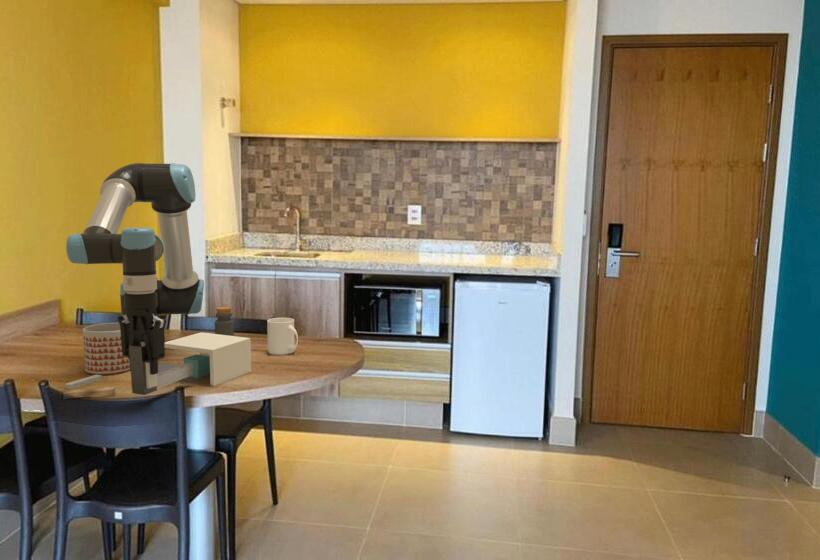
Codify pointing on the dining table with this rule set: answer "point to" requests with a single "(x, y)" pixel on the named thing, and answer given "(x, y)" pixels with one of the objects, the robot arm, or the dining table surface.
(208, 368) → the block
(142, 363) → the dark grey l-shaped block
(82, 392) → the oak batten
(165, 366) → the mat
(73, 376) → the dining table surface
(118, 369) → the planter
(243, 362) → the cubby
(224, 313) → the bottle
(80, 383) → the grey stick
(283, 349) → the mug
